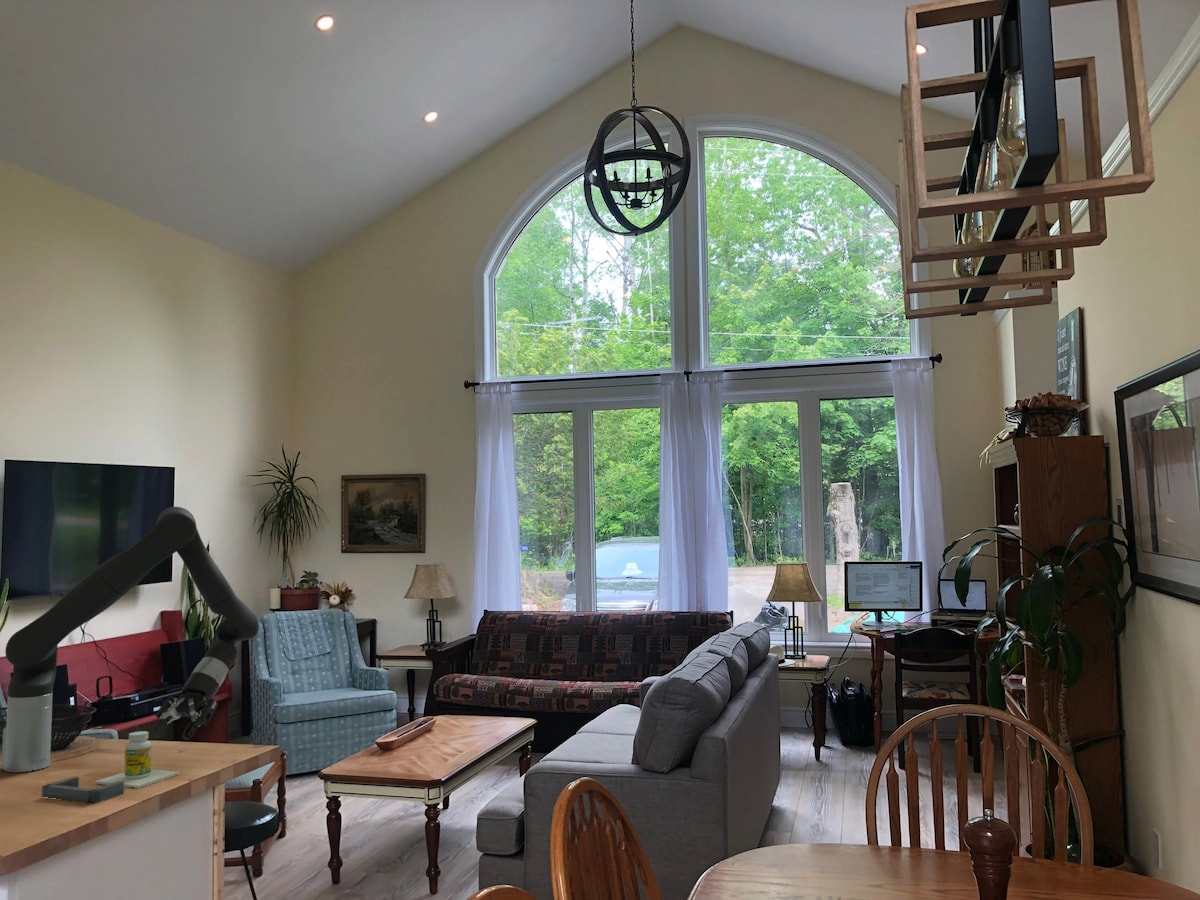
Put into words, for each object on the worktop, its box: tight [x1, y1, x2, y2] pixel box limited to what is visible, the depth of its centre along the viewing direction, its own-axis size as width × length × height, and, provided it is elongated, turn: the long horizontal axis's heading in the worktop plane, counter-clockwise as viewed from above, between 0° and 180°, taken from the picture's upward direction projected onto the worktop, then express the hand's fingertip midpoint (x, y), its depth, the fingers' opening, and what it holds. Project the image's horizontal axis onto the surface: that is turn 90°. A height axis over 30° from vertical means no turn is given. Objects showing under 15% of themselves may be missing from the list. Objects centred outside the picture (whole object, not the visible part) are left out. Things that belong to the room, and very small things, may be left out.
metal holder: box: [41, 776, 125, 805], centre depth 199 cm, size 14×8×2 cm, turn 72°
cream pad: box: [94, 768, 180, 789], centre depth 211 cm, size 12×12×1 cm
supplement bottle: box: [124, 730, 152, 779], centre depth 212 cm, size 5×5×10 cm
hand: (170, 736), depth 221 cm, fingers open, 8 cm apart
